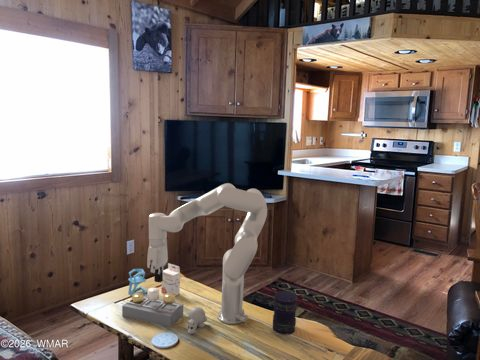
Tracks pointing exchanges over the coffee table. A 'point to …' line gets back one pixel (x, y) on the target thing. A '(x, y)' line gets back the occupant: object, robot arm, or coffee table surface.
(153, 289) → the white knob middle
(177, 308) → the grey compartment tray
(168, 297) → the brass knob near
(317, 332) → the coffee table surface
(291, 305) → the storage jar
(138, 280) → the chair
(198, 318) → the round bodied animal figurine
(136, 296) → the brass knob far
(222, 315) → the robot arm
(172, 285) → the ink cartridge box
